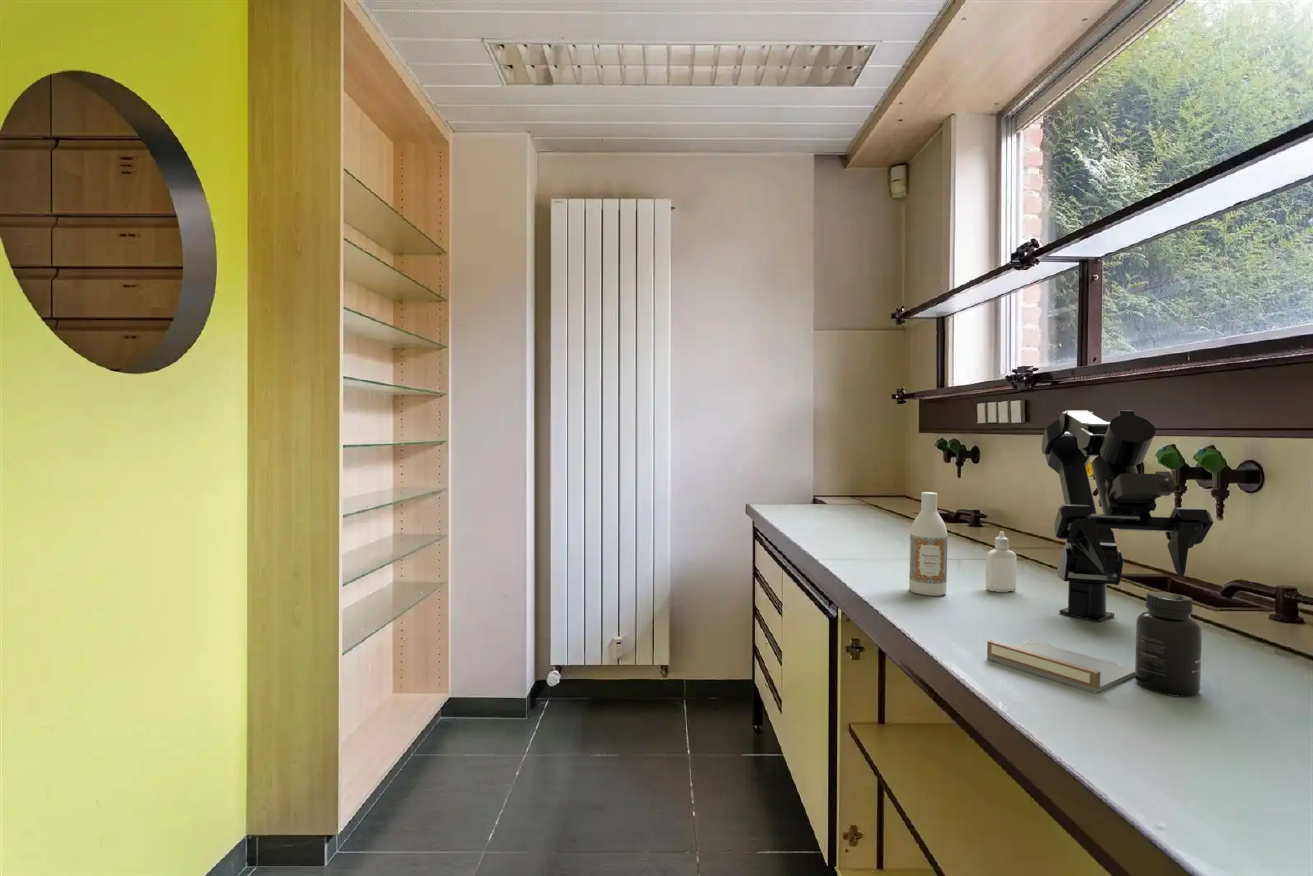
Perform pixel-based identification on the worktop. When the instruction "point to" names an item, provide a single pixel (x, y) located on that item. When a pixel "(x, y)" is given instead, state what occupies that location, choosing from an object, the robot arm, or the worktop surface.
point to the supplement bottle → (1168, 646)
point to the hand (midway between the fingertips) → (1142, 573)
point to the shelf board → (1060, 665)
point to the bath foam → (928, 550)
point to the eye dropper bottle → (1001, 566)
